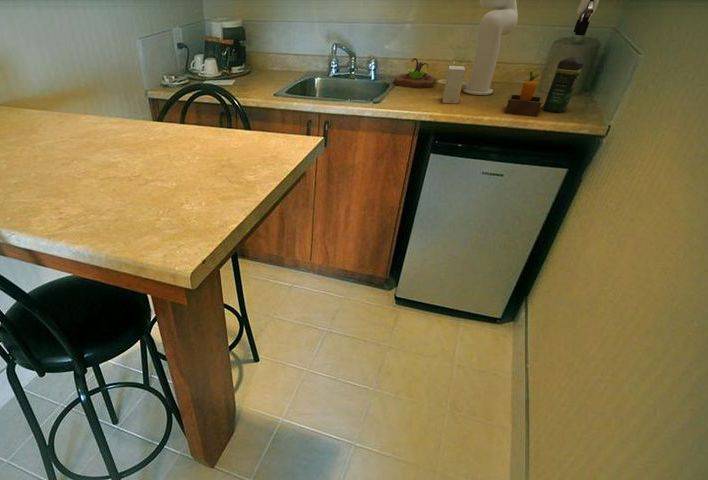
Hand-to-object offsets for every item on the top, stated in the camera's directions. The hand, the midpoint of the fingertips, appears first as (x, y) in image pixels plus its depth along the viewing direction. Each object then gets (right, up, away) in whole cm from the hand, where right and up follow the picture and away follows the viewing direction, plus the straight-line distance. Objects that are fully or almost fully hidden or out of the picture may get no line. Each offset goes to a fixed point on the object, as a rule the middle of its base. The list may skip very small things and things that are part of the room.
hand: (578, 33), depth 149 cm
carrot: (-15, -24, +12) cm, 31 cm away
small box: (-38, -14, +26) cm, 48 cm away
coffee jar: (0, -22, +14) cm, 26 cm away
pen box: (-15, -24, +12) cm, 30 cm away
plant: (-45, +8, +54) cm, 71 cm away
